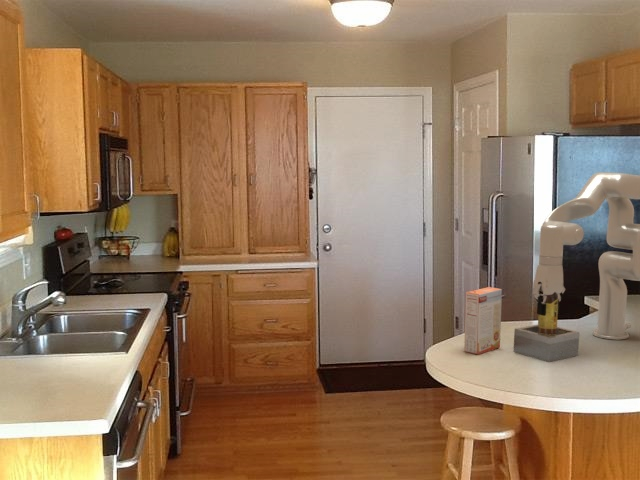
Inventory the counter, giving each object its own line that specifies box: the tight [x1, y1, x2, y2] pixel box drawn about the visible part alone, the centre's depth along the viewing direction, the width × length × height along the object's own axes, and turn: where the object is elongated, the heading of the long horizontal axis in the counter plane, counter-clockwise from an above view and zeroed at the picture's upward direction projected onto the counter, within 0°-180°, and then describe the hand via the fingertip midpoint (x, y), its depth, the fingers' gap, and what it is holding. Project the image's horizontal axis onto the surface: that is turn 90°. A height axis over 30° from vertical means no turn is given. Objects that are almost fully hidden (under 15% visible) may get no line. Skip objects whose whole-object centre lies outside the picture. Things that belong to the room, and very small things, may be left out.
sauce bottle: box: [537, 292, 559, 334], centre depth 264 cm, size 6×6×20 cm
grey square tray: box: [513, 323, 580, 363], centre depth 266 cm, size 17×15×8 cm
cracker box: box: [463, 286, 503, 356], centre depth 268 cm, size 14×6×21 cm, turn 134°
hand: (548, 313), depth 265 cm, fingers closed on sauce bottle, 6 cm apart
